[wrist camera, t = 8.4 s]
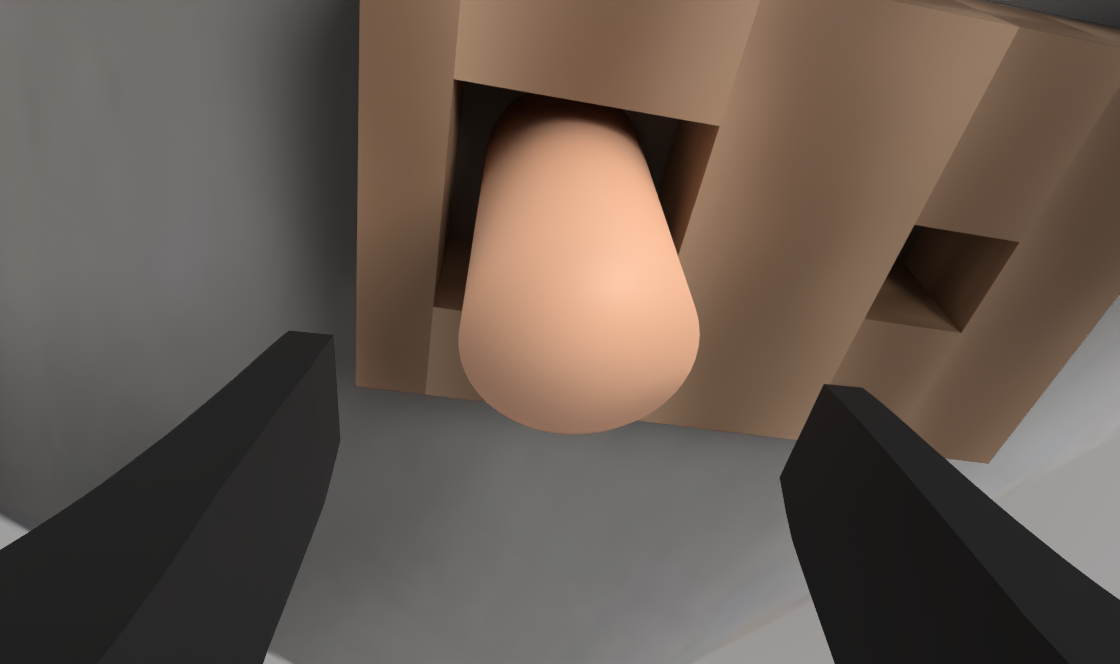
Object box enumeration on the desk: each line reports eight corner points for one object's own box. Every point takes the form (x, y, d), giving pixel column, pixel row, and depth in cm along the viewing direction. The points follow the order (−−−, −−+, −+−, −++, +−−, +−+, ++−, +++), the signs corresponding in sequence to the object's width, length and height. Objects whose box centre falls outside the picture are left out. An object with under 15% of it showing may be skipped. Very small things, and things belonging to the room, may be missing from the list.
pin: (655, 95, 17) (729, 256, 11) (623, 238, 19) (667, 443, 13) (493, 72, 17) (467, 225, 10) (480, 221, 19) (451, 423, 12)
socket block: (1142, 33, 17) (1284, 81, 14) (926, 375, 23) (988, 463, 20) (400, -123, 15) (360, -109, 12) (384, 300, 21) (355, 386, 18)
